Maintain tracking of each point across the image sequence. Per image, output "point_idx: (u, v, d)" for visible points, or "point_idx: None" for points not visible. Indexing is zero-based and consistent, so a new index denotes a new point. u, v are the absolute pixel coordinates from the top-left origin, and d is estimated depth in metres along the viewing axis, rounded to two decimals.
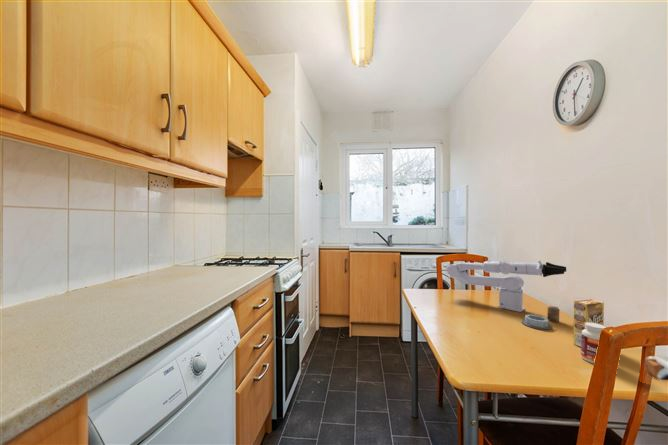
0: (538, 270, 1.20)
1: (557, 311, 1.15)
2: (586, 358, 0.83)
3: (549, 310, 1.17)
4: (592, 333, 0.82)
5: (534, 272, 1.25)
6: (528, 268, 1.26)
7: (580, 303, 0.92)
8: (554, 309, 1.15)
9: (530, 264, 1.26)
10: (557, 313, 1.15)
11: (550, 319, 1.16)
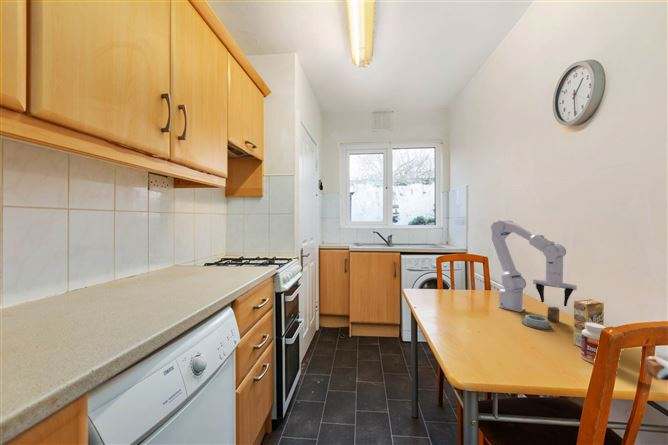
0: (533, 281, 1.22)
1: (557, 311, 1.15)
2: (586, 358, 0.83)
3: (549, 310, 1.17)
4: (592, 333, 0.82)
5: None
6: None
7: (580, 303, 0.92)
8: (554, 309, 1.15)
9: (548, 275, 1.17)
10: (557, 313, 1.15)
11: (550, 319, 1.16)
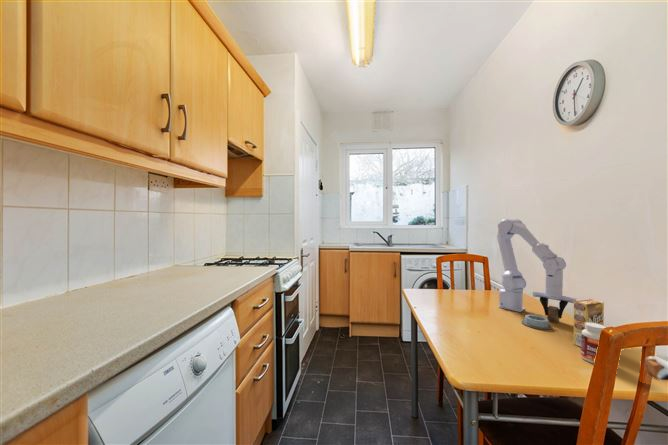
0: (533, 293, 1.22)
1: (557, 311, 1.15)
2: (586, 358, 0.83)
3: (549, 310, 1.17)
4: (592, 333, 0.82)
5: None
6: None
7: (580, 303, 0.92)
8: (554, 309, 1.15)
9: (547, 288, 1.17)
10: (557, 313, 1.15)
11: (550, 319, 1.16)
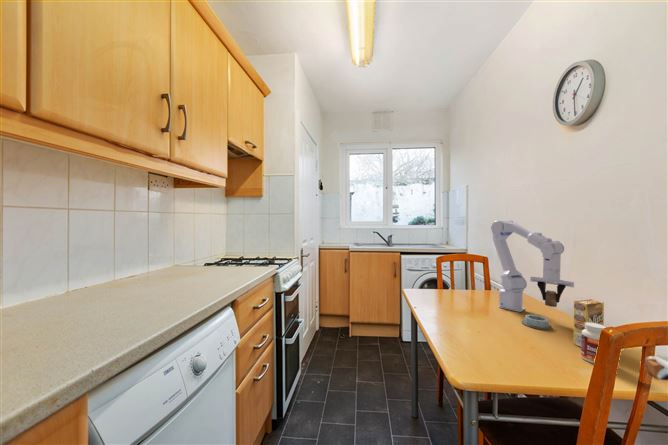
0: None
1: (555, 295, 1.14)
2: (586, 358, 0.83)
3: (547, 294, 1.16)
4: (592, 333, 0.82)
5: None
6: (543, 270, 1.18)
7: (580, 303, 0.92)
8: (552, 293, 1.14)
9: (545, 272, 1.16)
10: (555, 297, 1.14)
11: (548, 303, 1.15)
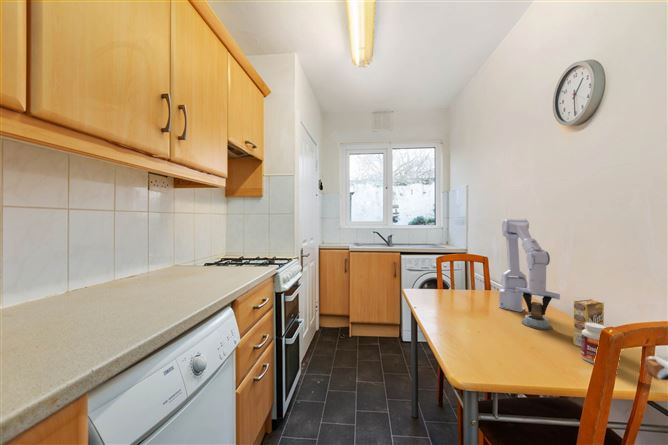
0: None
1: (540, 307, 1.10)
2: (586, 358, 0.83)
3: (532, 306, 1.11)
4: (592, 333, 0.82)
5: None
6: None
7: (580, 303, 0.92)
8: (537, 305, 1.10)
9: (530, 283, 1.11)
10: (540, 309, 1.10)
11: (533, 316, 1.11)
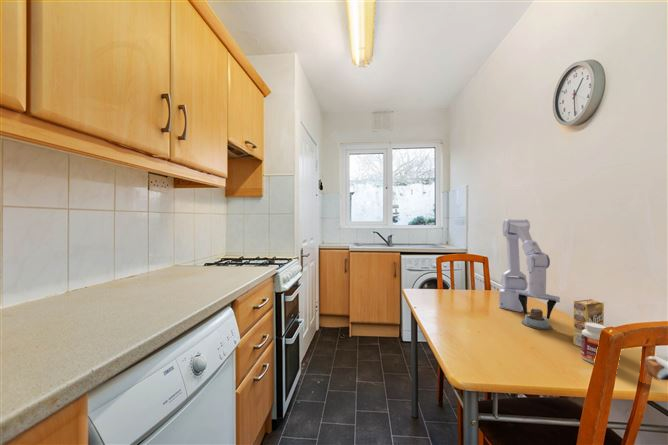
0: None
1: (540, 314, 1.10)
2: (586, 358, 0.83)
3: (532, 312, 1.11)
4: (592, 333, 0.82)
5: None
6: None
7: (580, 303, 0.92)
8: (537, 311, 1.10)
9: (530, 286, 1.11)
10: (540, 316, 1.10)
11: None
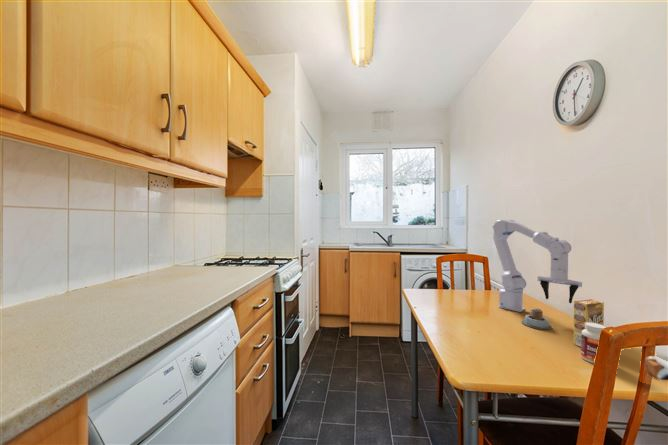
0: None
1: (540, 314, 1.10)
2: (586, 358, 0.83)
3: (532, 312, 1.11)
4: (592, 333, 0.82)
5: None
6: None
7: (580, 303, 0.92)
8: (537, 311, 1.10)
9: (552, 272, 1.15)
10: (540, 316, 1.10)
11: None
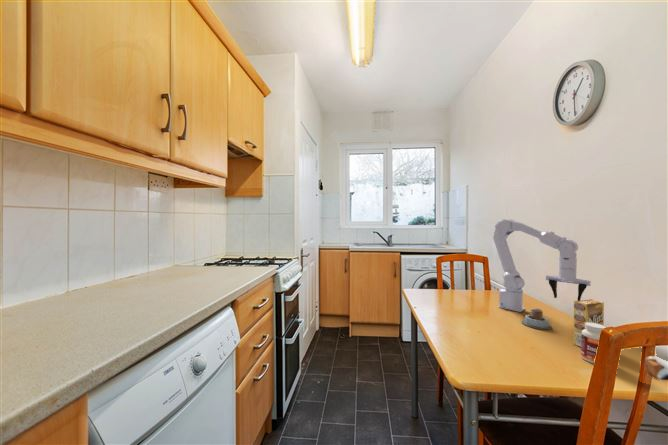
0: (546, 277, 1.22)
1: (540, 314, 1.10)
2: (586, 358, 0.83)
3: (532, 312, 1.11)
4: (592, 333, 0.82)
5: None
6: (559, 269, 1.18)
7: (580, 303, 0.92)
8: (537, 311, 1.10)
9: (561, 271, 1.16)
10: (540, 316, 1.10)
11: None
